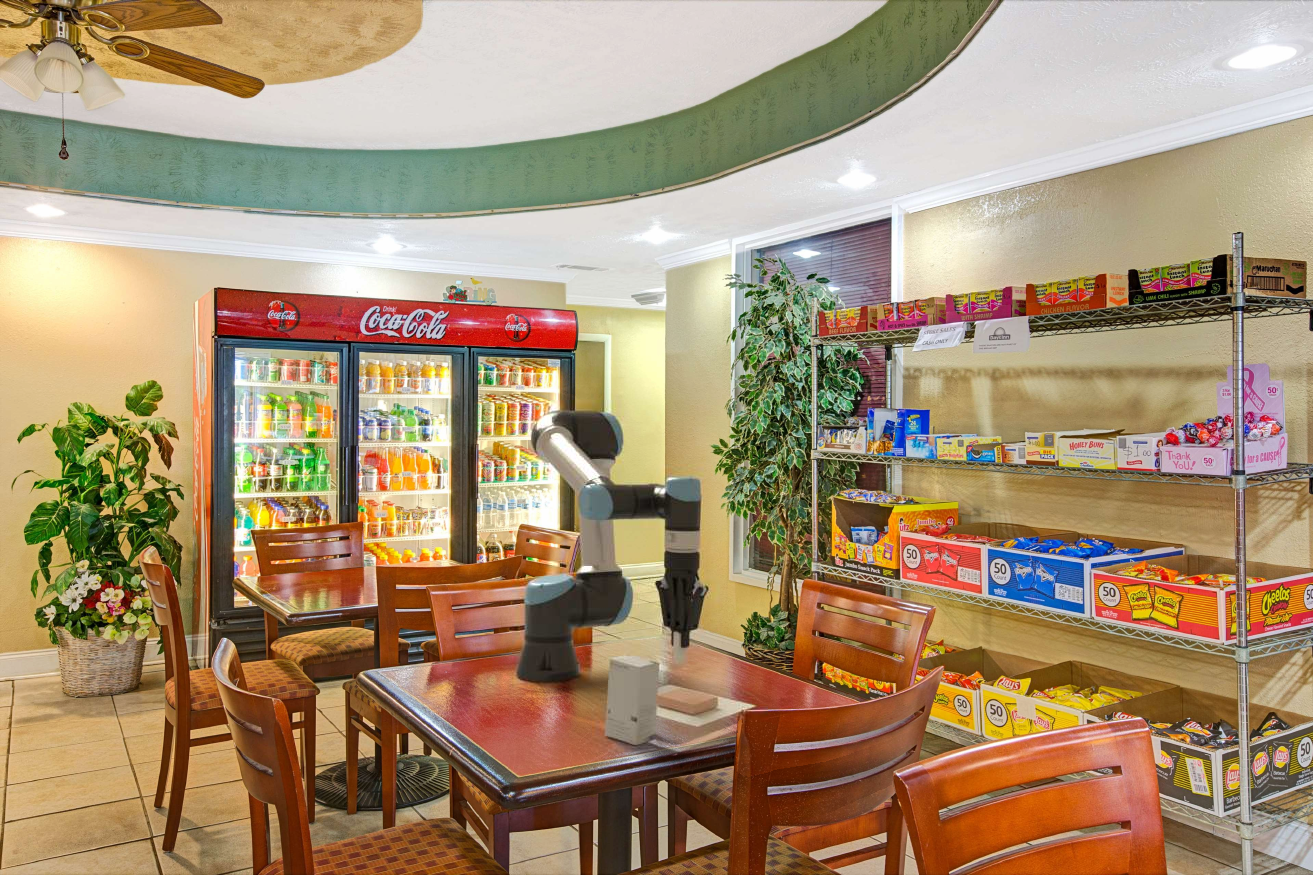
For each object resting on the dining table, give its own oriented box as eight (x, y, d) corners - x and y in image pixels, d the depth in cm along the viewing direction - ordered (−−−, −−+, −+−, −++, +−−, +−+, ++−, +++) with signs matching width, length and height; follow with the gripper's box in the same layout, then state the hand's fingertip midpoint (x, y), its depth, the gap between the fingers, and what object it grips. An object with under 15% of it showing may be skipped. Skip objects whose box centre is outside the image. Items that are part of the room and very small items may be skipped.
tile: (656, 694, 187) (693, 704, 180) (680, 687, 193) (717, 696, 186) (656, 705, 187) (693, 715, 180) (680, 698, 193) (717, 707, 186)
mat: (608, 706, 189) (608, 701, 189) (669, 688, 204) (669, 684, 204) (697, 731, 173) (697, 726, 173) (756, 710, 188) (756, 705, 188)
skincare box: (604, 736, 169) (605, 657, 169) (625, 729, 174) (627, 652, 174) (637, 746, 164) (639, 665, 164) (658, 739, 168) (660, 660, 168)
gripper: (647, 548, 190) (644, 660, 189) (695, 554, 181) (692, 670, 181) (669, 546, 195) (667, 654, 195) (717, 551, 187) (715, 664, 186)
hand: (679, 662), depth 188 cm, fingers closed
